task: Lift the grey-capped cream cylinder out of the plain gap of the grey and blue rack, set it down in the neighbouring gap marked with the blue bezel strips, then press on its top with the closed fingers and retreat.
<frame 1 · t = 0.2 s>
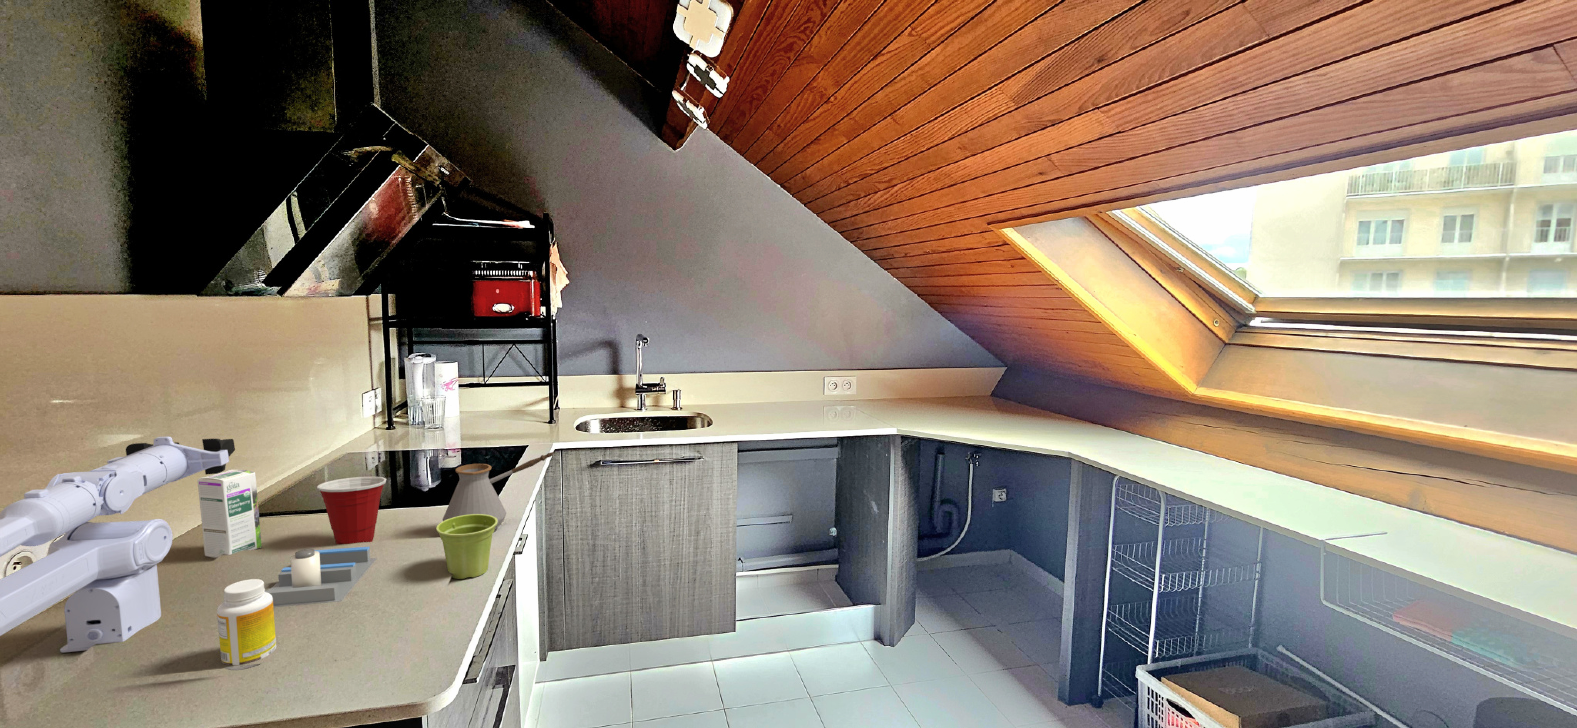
hand: (205, 446, 107), 21 cm above the countertop, tool horizontal, fingers open, 7 cm apart
grey and blue rack: (318, 586, 105), on the countertop
syrup box: (233, 553, 117), on the countertop
plastic cup: (355, 543, 123), on the countertop
coffee pot: (502, 528, 132), on the countertop
plant pot: (469, 572, 112), on the countertop
grey-capped cream cylinder: (307, 592, 101), point 1 cm above the countertop, touching grey and blue rack
supplement bottle: (249, 661, 85), on the countertop
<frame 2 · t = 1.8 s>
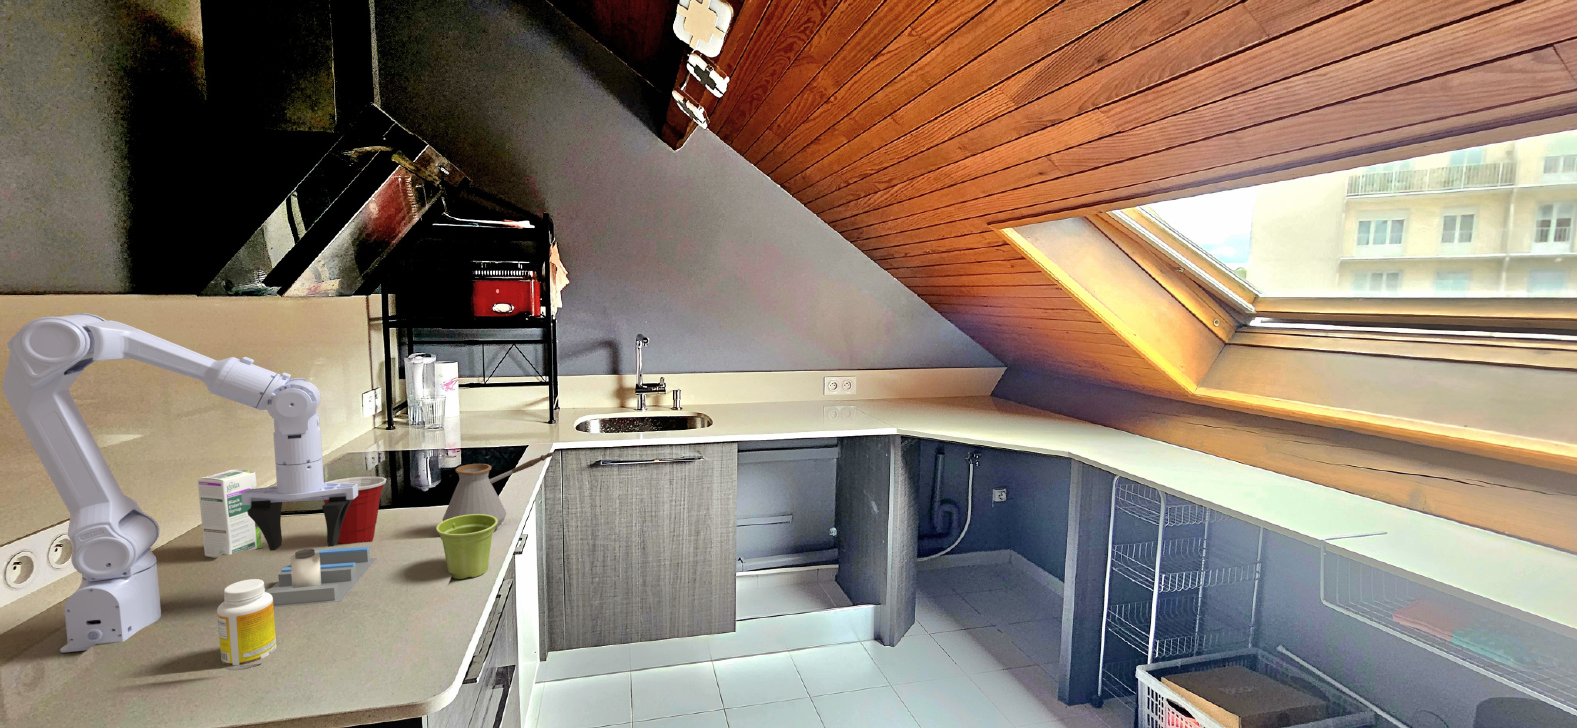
hand: (304, 545, 100), 9 cm above the countertop, tool pointing down, fingers open, 7 cm apart
nothing on the countertop moved.
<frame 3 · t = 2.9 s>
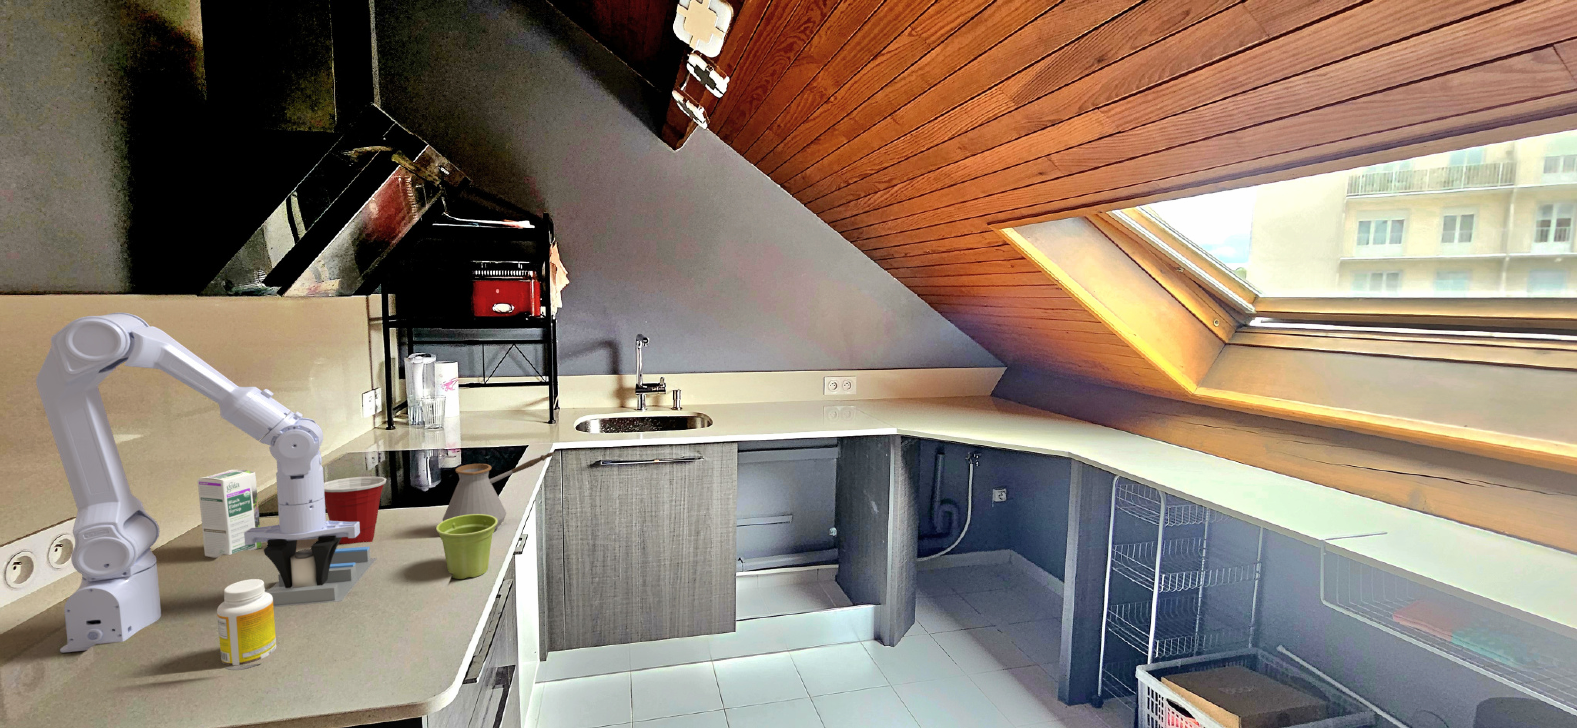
hand: (306, 583, 101), 2 cm above the countertop, tool pointing down, fingers closed on grey-capped cream cylinder, 4 cm apart
grey-capped cream cylinder: (307, 592, 101), point 1 cm above the countertop, touching grey and blue rack, gripper
everything else where it was.
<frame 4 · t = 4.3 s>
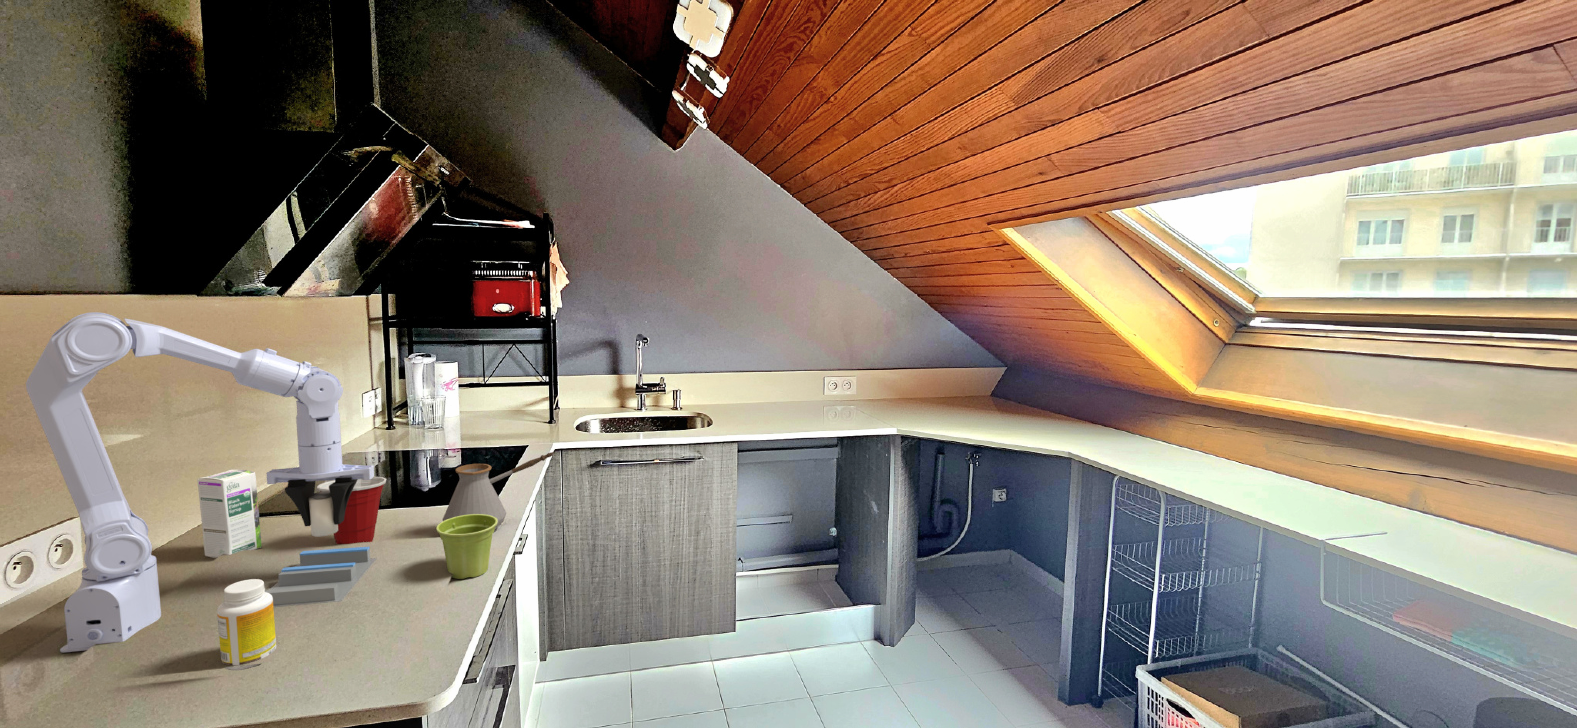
hand: (324, 523, 107), 9 cm above the countertop, tool pointing down, fingers closed on grey-capped cream cylinder, 4 cm apart
grey-capped cream cylinder: (325, 531, 107), point 8 cm above the countertop, touching gripper
everything else where it was.
when the fingers open (4 cm above the countertop, at t = 5.8 s): grey-capped cream cylinder drops 1 cm, resting on grey and blue rack.
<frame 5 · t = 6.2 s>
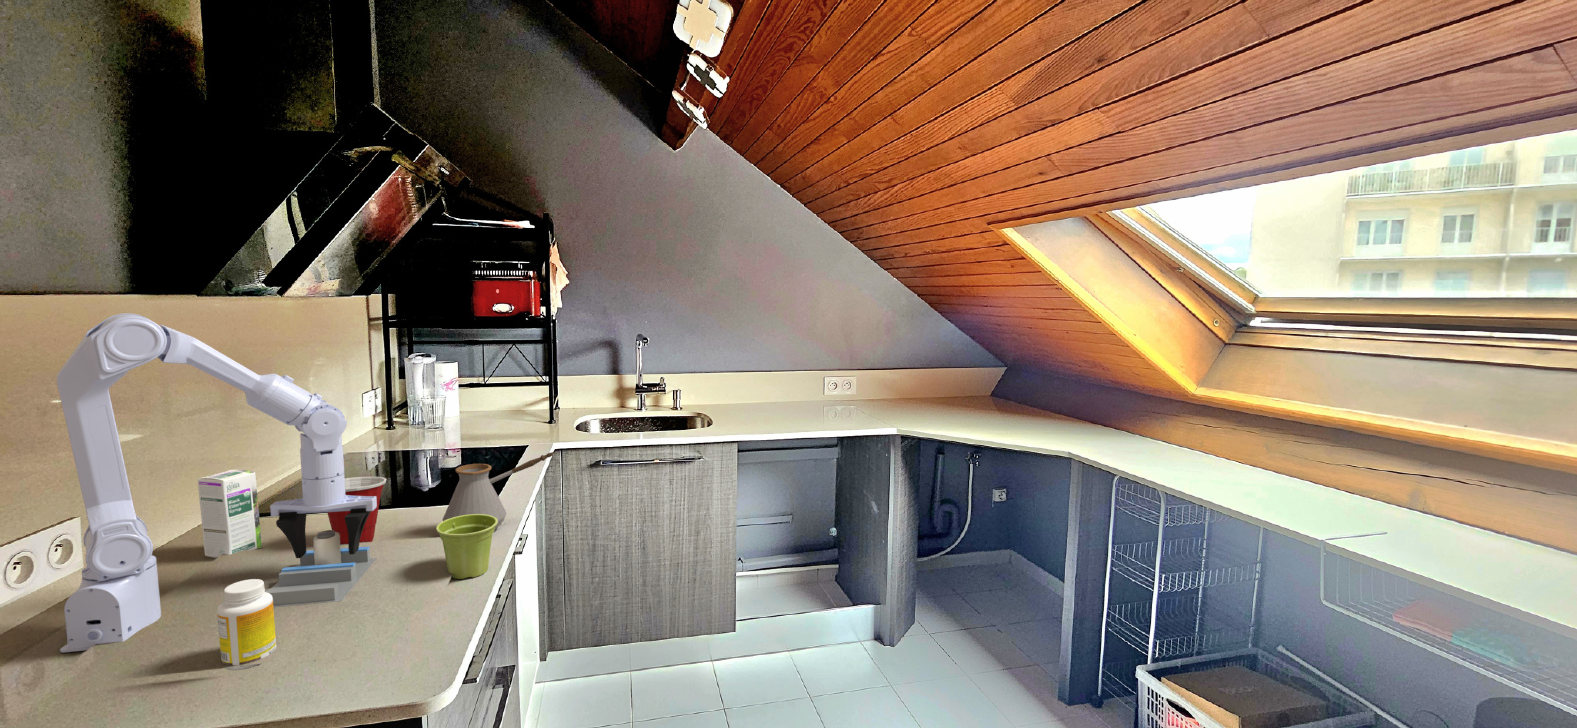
hand: (327, 553, 108), 4 cm above the countertop, tool pointing down, fingers open, 7 cm apart
grey-capped cream cylinder: (328, 570, 108), point 1 cm above the countertop, touching grey and blue rack
everything else where it was.
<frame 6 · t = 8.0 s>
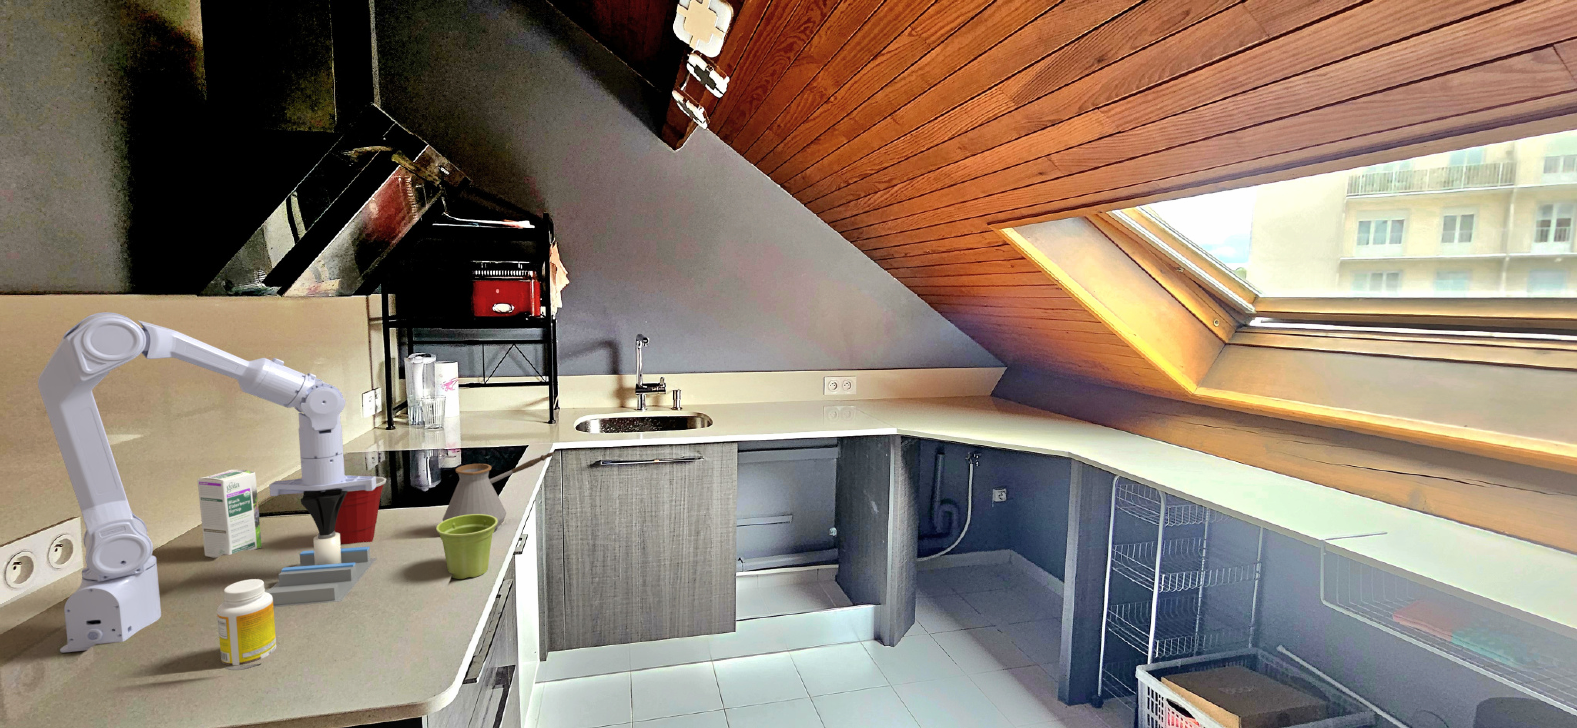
hand: (327, 533, 108), 7 cm above the countertop, tool pointing down, fingers closed, pressing on grey-capped cream cylinder
grey-capped cream cylinder: (328, 570, 108), point 1 cm above the countertop, touching grey and blue rack, gripper
everything else where it was.
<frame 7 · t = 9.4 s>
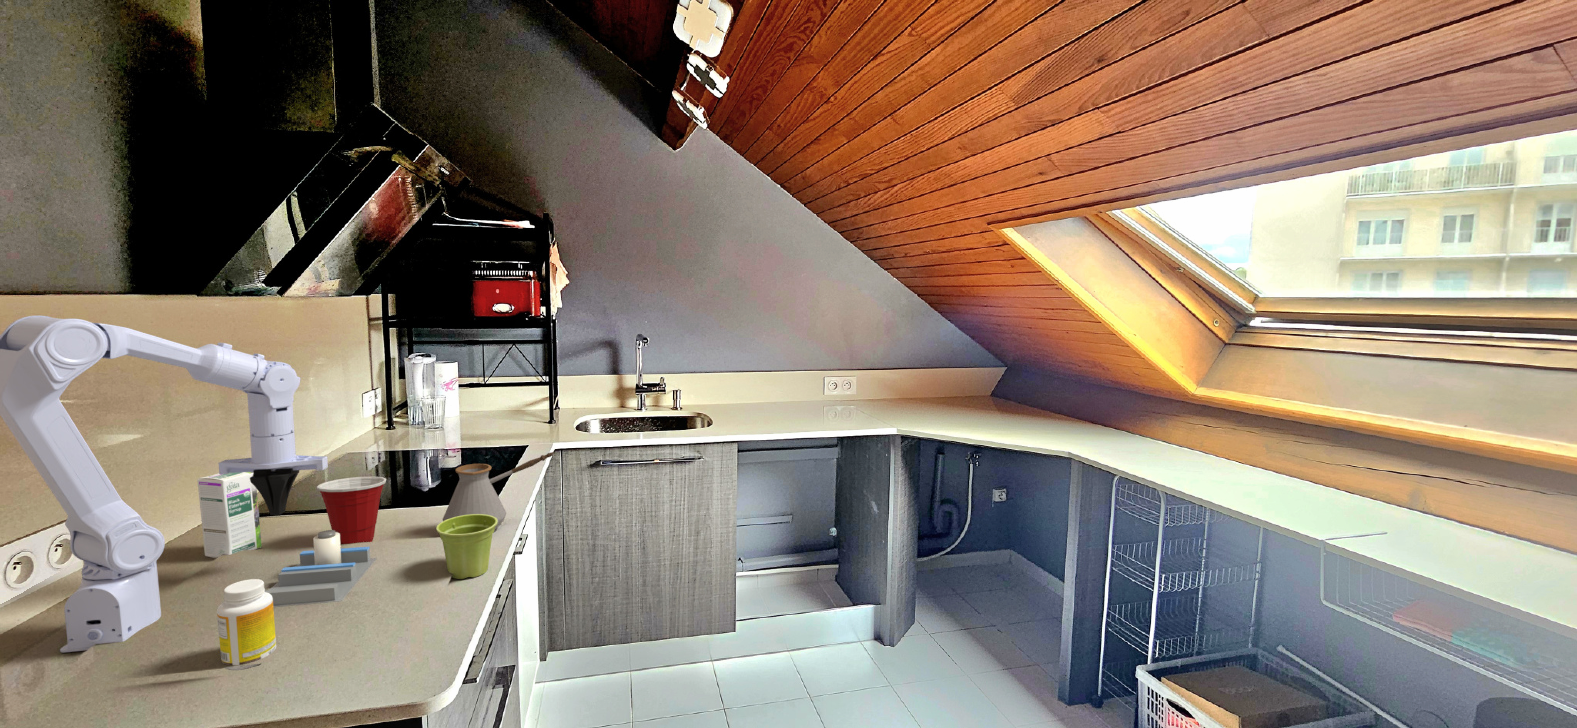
hand: (277, 513, 108), 10 cm above the countertop, tool pointing down, fingers closed
grey-capped cream cylinder: (328, 570, 108), point 1 cm above the countertop, touching grey and blue rack
everything else where it was.
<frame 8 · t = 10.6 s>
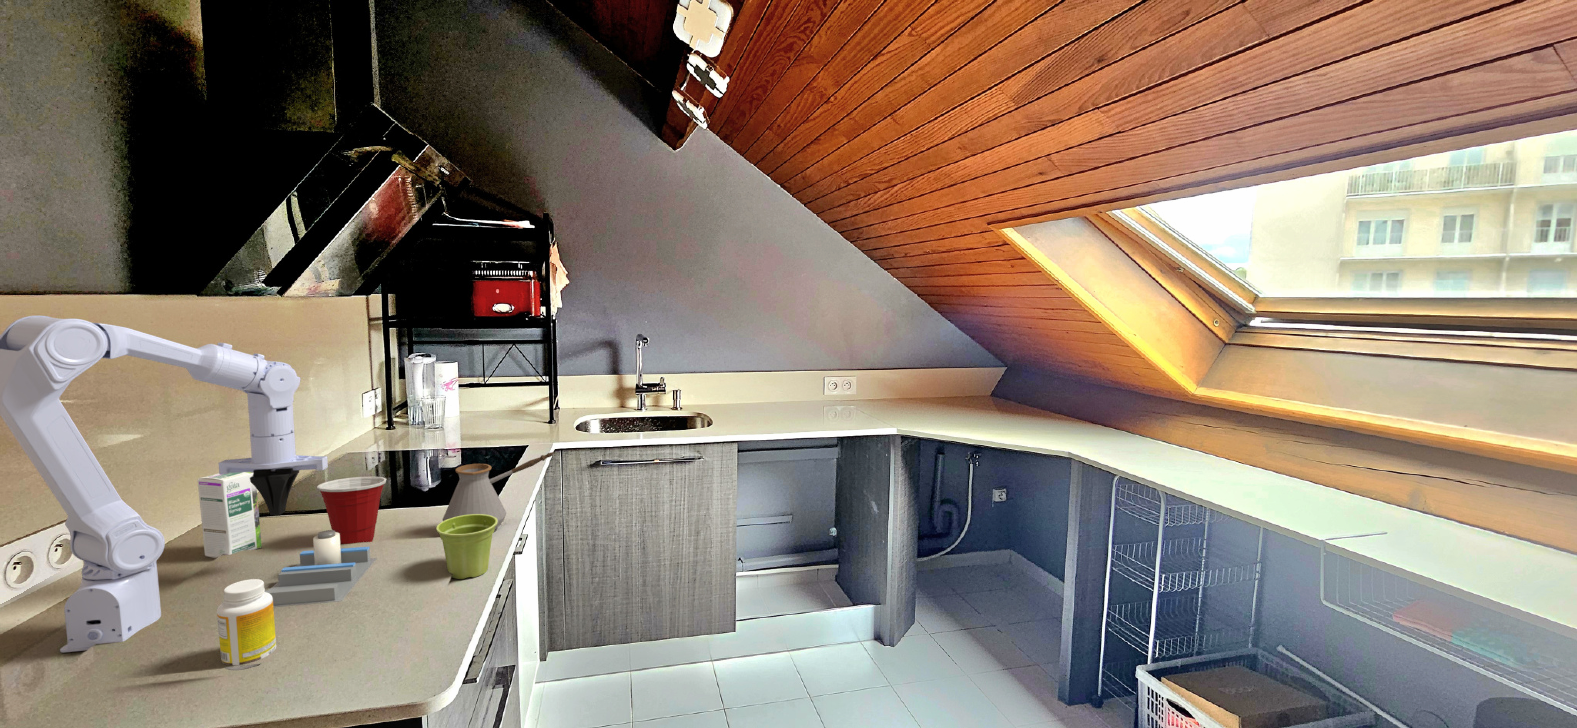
hand: (277, 513, 108), 10 cm above the countertop, tool pointing down, fingers closed
nothing on the countertop moved.
at the end: grey-capped cream cylinder inside the target area on the grey and blue rack (0.0 cm from its centre), point 1.0 cm above the grey and blue rack's base; grey-capped cream cylinder tilted 0°; the gripper is holding nothing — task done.
